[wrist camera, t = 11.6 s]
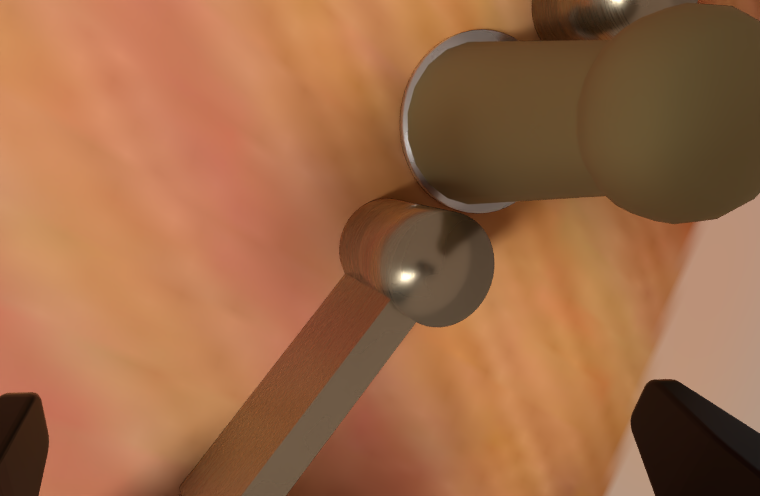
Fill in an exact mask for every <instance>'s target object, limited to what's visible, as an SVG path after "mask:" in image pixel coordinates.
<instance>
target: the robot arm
mask: <svg viewBox="0 0 760 496" xmlns="http://www.w3.org/2000/svg"><path fill="white" fill-rule="evenodd" d="M631 429H632V433H633V435H634V438H635V441H636V444H637V447H638V449H639V452H640V454H641V458H642V460H643V463H644V466H645V469H646V471H647V474H648V477H649V480H650V482H651V485H652V488H653V491H654V494H655V496H760V433H758V432H756V431H755V430H753V429H752V428H750V427H749V426H747V425H746V424H744V423H743V422H741V421H739V420H738V419H736V418H735V417H733V416H732V415H730V414H728V413H727V412H725V411H724V410H722V409H721V408H719V407H717V406H716V405H714V404H713V403H711V402H710V401H708V400H707V399H705V398H704V397H702V396H700V395H699V394H697V393H696V392H694V391H692V390H691V389H689V388H688V387H686V386H685V385H683V384H682V383H680V382H678V381H676V380H672V379H661V380H651V381H649V382H648V383H647V384H646V385H645V387H644V389H643V391H642V393H641V396H640V398H639V400H638V402H637V404H636V406H635V408H634V410H633V413H632V415H631ZM48 447H49V435H48V430H47V425H46V420H45V415H44V410H43V406H42V401H41V398H40V397H39V395H38V394H36V393H33V392H28V393H6V394H3V395H1V396H0V496H38V495H39V491H40V486H41V482H42V477H43V473H44V468H45V463H46V459H47V454H48Z"/></svg>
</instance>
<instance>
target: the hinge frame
mask: <svg viewBox="0 0 760 496" xmlns="http://www.w3.org/2000/svg"><path fill="white" fill-rule="evenodd" d="M697 1H698V0H532V16H533V22H534V25H535V28H536V31H537V33H538V35H539V37H540V38H541V40H542V41H572V40H611V39H612V38H613V37H614V36H616V35H617V34H618V33H619V32H620V31H621V30H622V29H623V28H625V27H626V26H628V25H630V24H631V23H633V22H635V21H636V20H638V19H640V18H641V17H644V16H647V15H649V14H652V13H655V12H657V11H660V10H663V9H665V8H668V7H672V6H676V5H680V4H684V3H697ZM487 41H518V40H516V39H515V38H513V37H511V36H509V35H506V34H504V33H501V32H497V31H492V30H472V31H468V32H463V33H460V34H457V35H454V36H452V37H449V38H447V39H445V40H444V41H442V42H440V43H439V44H437V45H436V46H435V47H434V48H433V49H431V50H430V51H429V52H428V53H427V54H426V55H425V56H424V57H423V59H422V60H421V61H420V62H419V64H418V65H417V67H416V68H415V70H414V71H413V73H412V75H411V77H410V79H409V81H408V84H407V86H406V89H405V92H404V96H403V100H402V104H401V111H400V136H401V143H402V148H403V152H404V155H405V158H406V161H407V163H408V166H409V168H410V170H411V172H412V174H413V175H414V177H415V178H416V180H417V181H418V183H419V184H420V185H421V187H422V188H423V189H424V190H425V191H426V192H427V193H428V194H429V195H430V196H432V197H433V198H434V199H435V200H437V201H438V202H440V203H442V204H443V205H445V206H448V207H450V208H452V209H455V210H459V211H463V212H469V213H488V212H493V211H497V210H500V209H503V208H506V207H507V206H509V205H511V204H513V203H515V202H500V203H484V204H469V205H468V204H465V203H461V202H458V201H455V200H451V199H448V198H446V197H445V196H444V195H442V194H441V193H440V192H438V191H437V190H436V189H434V188H433V187H432V186H430V185H429V183H428V182H427V181H426V179H425V178H424V176H423V175H422V173H421V172H420V170H419V169H418V167H417V166H416V164H415V161H414V158H413V154H412V151H411V148H410V145H409V141H408V109H409V105H410V102H411V98H412V94H413V91H414V87H415V85H416V84H417V82H418V80H419V79H420V77H421V76H422V74H423V72H424V71H425V69H426V68H427V66H428V65H429V64H430V63H431V62H432V61H433V60H435V59H436V58H437V57H438V56H439V55H441V54H442V53H443V52H444V51H445V50H447V49H449V48H452V47H455V46H458V45H461V44H463V43H466V42H487ZM339 254H340V261H341V264H342V267H343V270H344V272H345V275H344V276H343V278H342V279H341V280H340V281H339V283H338V284H337V285H336V287H335V288H334V289H333V290H332V292H331V293H330V294H329V296H328V297H327V298H326V299H325V301H324V302H323V303H322V305H321V306H320V307H319V308H318V310H317V311H316V312H315V314H314V315H313V316H312V317H311V319H310V320H309V321H308V323H307V324H306V325H305V326H304V328H303V329H302V330H301V332H300V333H299V334H298V335H297V337H296V338H295V339H294V341H293V342H292V343H291V344H290V346H289V347H288V348H287V350H286V351H285V352H284V353H283V355H282V356H281V357H280V359H279V360H278V361H277V362H276V364H275V365H274V366H273V368H272V369H271V370H270V371H269V373H268V374H267V375H266V377H265V378H264V379H263V380H262V382H261V383H260V384H259V386H258V387H257V388H256V389H255V391H254V392H253V393H252V395H251V396H250V397H249V398H248V400H247V401H246V402H245V404H244V405H243V406H242V407H241V409H240V410H239V411H238V413H237V414H236V415H235V416H234V418H233V419H232V420H231V422H230V423H229V424H228V425H227V427H226V428H225V429H224V431H223V432H222V433H221V434H220V436H219V437H218V438H217V440H216V441H215V442H214V443H213V445H212V446H211V447H210V449H209V450H208V451H207V452H206V454H205V455H204V456H203V458H202V459H201V460H200V461H199V463H198V464H197V465H196V467H195V468H194V469H193V470H192V472H191V473H190V474H189V476H188V477H187V478H186V479H185V481H184V482H183V483H182V485H181V486H180V492H181V496H286V495H287V494H288V492H289V491H290V490H291V488H292V487H293V486H294V484H295V483H296V482H297V480H298V479H299V478H300V476H301V475H302V474H303V472H304V471H305V470H306V468H307V467H308V466H309V464H310V463H311V462H312V460H313V459H314V458H315V456H316V455H317V454H318V452H319V451H320V450H321V448H322V447H323V446H324V444H325V443H326V442H327V440H328V439H329V438H330V436H331V435H332V434H333V432H334V431H335V430H336V428H337V427H338V426H339V424H340V423H341V422H342V420H343V419H344V418H345V416H346V415H347V414H348V412H349V411H350V410H351V408H352V407H353V406H354V404H355V403H356V402H357V400H358V399H359V398H360V396H361V395H362V394H363V392H364V391H365V390H366V388H367V387H368V386H369V384H370V383H371V382H372V380H373V379H374V378H375V376H376V375H377V374H378V372H379V371H380V370H381V368H382V367H383V366H384V364H385V363H386V362H387V360H388V359H389V358H390V356H391V355H392V354H393V352H394V351H395V350H396V348H397V347H398V346H399V344H400V343H401V342H402V340H403V339H404V338H405V336H406V335H407V334H408V332H409V331H410V330H411V328H412V327H413V326H414V324H415V323H416V322H417V323H419V324H422V325H425V326H429V327H445V326H450V325H453V324H456V323H458V322H460V321H462V320H464V319H465V318H467V317H468V316H469V315H471V314H472V313H473V312H474V311H475V310H476V309H477V308H478V307H479V305H480V304H481V303H482V301H483V300H484V298H485V297H486V295H487V293H488V291H489V288H490V286H491V283H492V279H493V274H494V253H493V248H492V245H491V242H490V240H489V238H488V236H487V234H486V232H485V231H484V229H483V228H482V227H481V226H480V225H479V224H478V223H477V222H476V221H475V220H473V219H472V218H470V217H468V216H466V215H464V214H461V213H457V212H453V211H448V210H443V209H438V208H434V207H429V206H424V205H420V204H415V203H410V202H406V201H401V200H396V199H389V198H387V199H378V200H374V201H371V202H369V203H367V204H365V205H363V206H362V207H360V208H359V209H358V210H357V211H356V212H355V213H354V214H353V215H352V216H351V217H350V219H349V220H348V222H347V223H346V225H345V227H344V229H343V232H342V235H341V239H340V246H339Z"/></svg>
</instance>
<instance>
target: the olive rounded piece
mask: <svg viewBox="0 0 760 496" xmlns="http://www.w3.org/2000/svg"><path fill="white" fill-rule="evenodd" d="M408 141H409V145H410V148H411V151H412V154H413V158H414V161H415V164H416V166H417V167H418V169H419V170H420V172H421V173H422V175H423V176H424V178H425V179H426V181H427V182H428V183H429V185H430V186H432V187H433V188H434V189H436V190H437V191H438V192H440V193H441V194H442V195H444V196H445V197H446V198H448V199H451V200H455V201H458V202H461V203H465V204H468V205H469V204H484V203H500V202H516V201H532V200H548V199H564V198H579V197H595V196H606V197H608V198H609V199H610V200H611V201H612V202H613V203H614V204H616V205H617V206H619V207H621V208H623V209H625V210H627V211H629V212H631V213H633V214H636V215H639V216H642V217H645V218H648V219H651V220H654V221H659V222H665V223H671V224H678V223H688V222H697V221H705V220H712V219H717V218H719V217H721V216H723V215H725V214H727V213H729V212H730V211H732V210H734V209H736V208H738V207H740V206H742V205H743V204H745V203H747V202H749V201H751V200H752V199H754V198H755V197H756V196H757V195H758V194H759V193H760V21H758V20H757V19H755V18H753V17H752V16H750V15H748V14H746V13H744V12H742V11H741V10H739V9H737V8H735V7H733V6H725V5H712V4H698V3H684V4H680V5H676V6H672V7H668V8H665V9H663V10H660V11H657V12H655V13H652V14H649V15H647V16H644V17H641V18H640V19H638V20H636V21H635V22H633V23H631V24H630V25H628V26H626V27H625V28H623V29H622V30H621V31H620V32H619V33H618V34H617V35H616V36H614V37H613V38H612V39H611V40H572V41H487V42H466V43H463V44H461V45H458V46H455V47H452V48H449V49H447V50H445V51H444V52H443V53H442V54H441V55H439V56H438V57H437V58H436V59H435V60H433V61H432V62H431V63H430V64H429V65H428V66H427V68H426V69H425V71H424V72H423V74H422V76H421V77H420V79H419V80H418V82H417V84H416V85H415V87H414V91H413V94H412V98H411V102H410V105H409V109H408Z"/></svg>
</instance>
